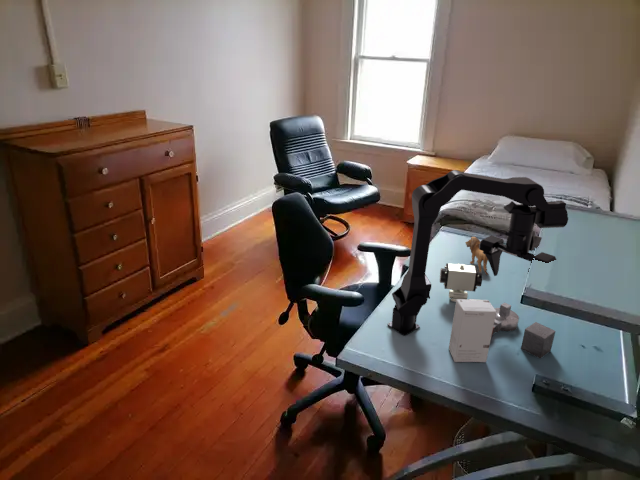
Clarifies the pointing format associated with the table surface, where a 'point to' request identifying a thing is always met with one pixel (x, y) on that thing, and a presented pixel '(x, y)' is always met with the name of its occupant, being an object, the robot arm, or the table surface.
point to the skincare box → (471, 330)
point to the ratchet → (505, 319)
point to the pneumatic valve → (460, 280)
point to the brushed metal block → (538, 340)
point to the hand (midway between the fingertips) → (511, 281)
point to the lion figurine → (477, 253)
